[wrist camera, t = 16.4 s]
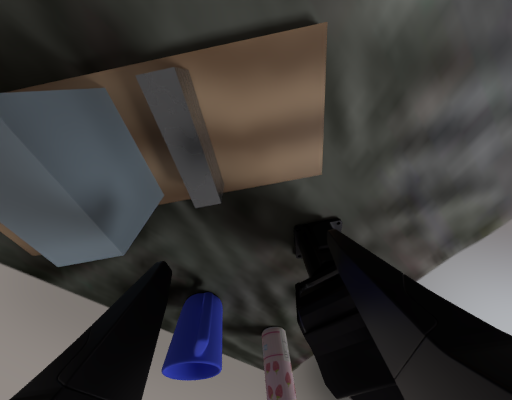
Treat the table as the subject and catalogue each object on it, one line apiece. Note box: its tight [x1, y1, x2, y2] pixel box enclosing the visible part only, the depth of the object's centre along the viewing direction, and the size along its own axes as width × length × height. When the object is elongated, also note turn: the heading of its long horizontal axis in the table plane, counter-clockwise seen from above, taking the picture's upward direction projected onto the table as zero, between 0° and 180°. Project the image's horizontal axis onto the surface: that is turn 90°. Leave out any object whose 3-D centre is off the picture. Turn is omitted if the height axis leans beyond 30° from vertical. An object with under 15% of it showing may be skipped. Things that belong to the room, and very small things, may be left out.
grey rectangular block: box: [135, 67, 224, 208], centre depth 15 cm, size 10×2×4 cm, turn 10°
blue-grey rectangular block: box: [0, 88, 164, 267], centre depth 13 cm, size 10×5×8 cm, turn 10°
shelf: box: [0, 22, 327, 256], centre depth 15 cm, size 12×28×6 cm, turn 100°
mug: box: [162, 292, 222, 380], centre depth 29 cm, size 8×12×10 cm
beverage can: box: [262, 327, 297, 400], centre depth 37 cm, size 6×6×15 cm
